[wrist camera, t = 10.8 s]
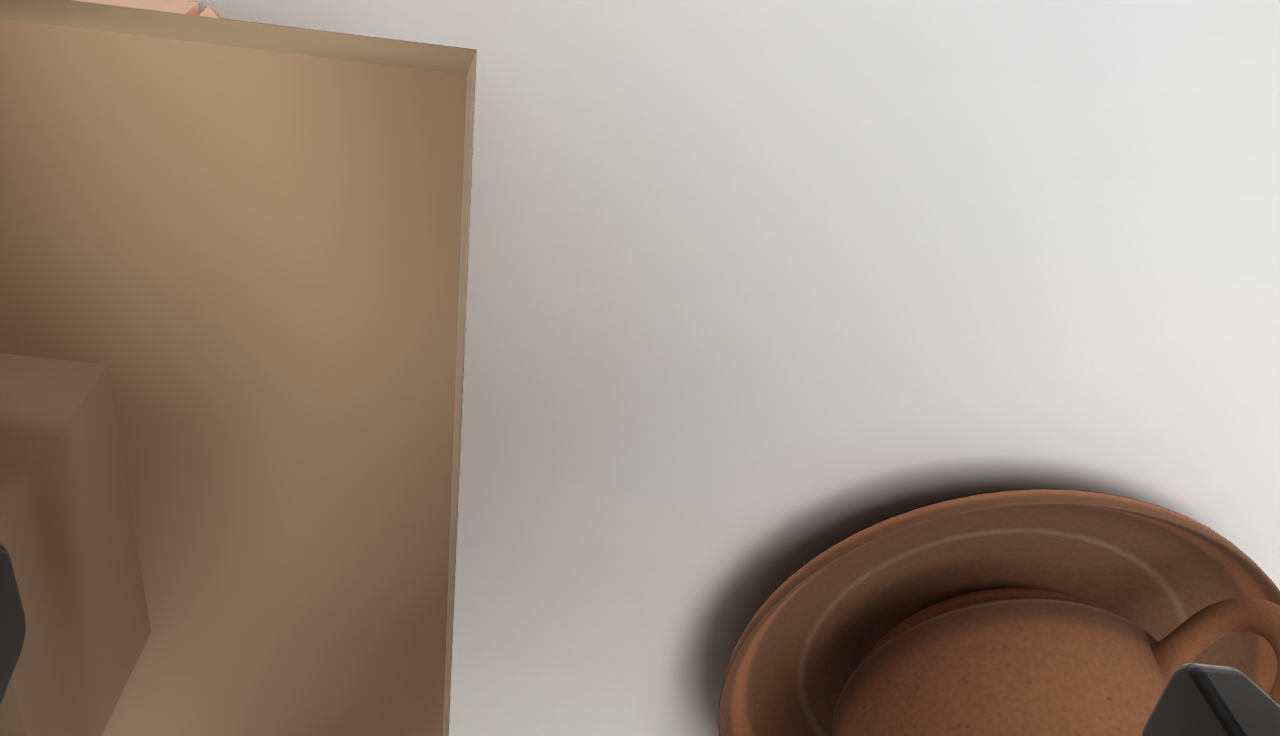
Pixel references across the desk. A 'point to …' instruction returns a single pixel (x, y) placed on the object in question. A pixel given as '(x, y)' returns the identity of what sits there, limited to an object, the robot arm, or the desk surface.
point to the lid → (230, 372)
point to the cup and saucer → (1001, 622)
